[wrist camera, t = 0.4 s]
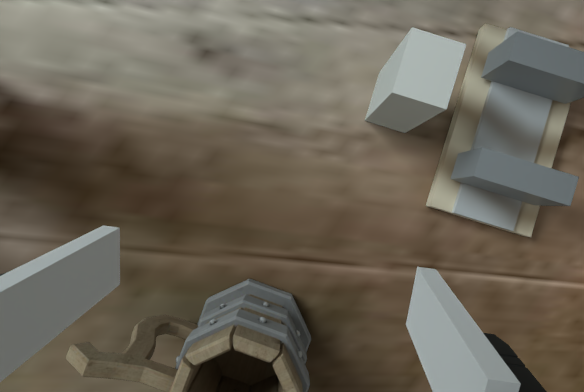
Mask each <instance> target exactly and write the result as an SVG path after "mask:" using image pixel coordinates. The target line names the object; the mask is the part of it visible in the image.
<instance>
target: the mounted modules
mask: <svg viewBox="0 0 584 392" xmlns="http://www.w3.org/2000/svg"><path fill="white" fill-rule="evenodd" d="M481 78H484V79H487V80H490V81H494V82H497V83H500V84H503V85H506V86H510V87H513V88H516V89H519V90H522V91H526V92H529V93H532V94H535V95H538V96H542V97H545V98H548V99H551V100H554V101H558V102H561V103H564V104H566V103H569V102H572V101H575V100H578V99H581V98H584V52H582V51H579V50H575V49H572V48H569V47H566V46H563V45H559V44H556V43H553V42H550V41H547V40H543V39H540V38H537V37H534V36H531V35H528V34H524V33H521V32H518V31H517V32H516V33H514V34H513V35H512V36H510V37H509V38H507V39H506V40H505V41H503V42H502V43H501V44H499V45H498V46H497V47H495V48H494V49H493V50H491V51H490V52H489V53H488V56H487V60H486V63H485V66H484V69H483V73H482V76H481ZM578 178H579V177H577V176H574V175H571V174H568V173H564V172H561V171H558V170H555V169H552V168H548V167H545V166H542V165H539V164H536V163H532V162H529V161H526V160H523V159H519V158H516V157H513V156H510V155H507V154H503V153H500V152H497V151H494V150H491V149H487V148H484V147H481V148H477V149H473V150H470V151H466V152H462V153H459V154H458V156H457V159H456V162H455V165H454V169H453V172H452V175H451V179H452V180H455V181H458V182H461V183H465V184H468V185H471V186H474V187H477V188H481V189H484V190H487V191H490V192H494V193H497V194H500V195H503V196H506V197H510V198H513V199H516V200H519V201H523V202H526V203H529V204H532V205H543V206H570V205H571V202H572V199H573V195H574V192H575V189H576V185H577V182H578Z"/></svg>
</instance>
